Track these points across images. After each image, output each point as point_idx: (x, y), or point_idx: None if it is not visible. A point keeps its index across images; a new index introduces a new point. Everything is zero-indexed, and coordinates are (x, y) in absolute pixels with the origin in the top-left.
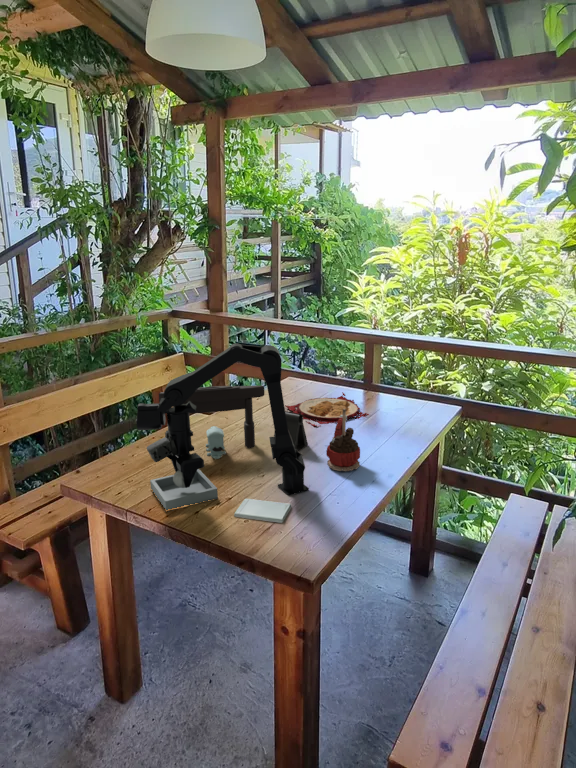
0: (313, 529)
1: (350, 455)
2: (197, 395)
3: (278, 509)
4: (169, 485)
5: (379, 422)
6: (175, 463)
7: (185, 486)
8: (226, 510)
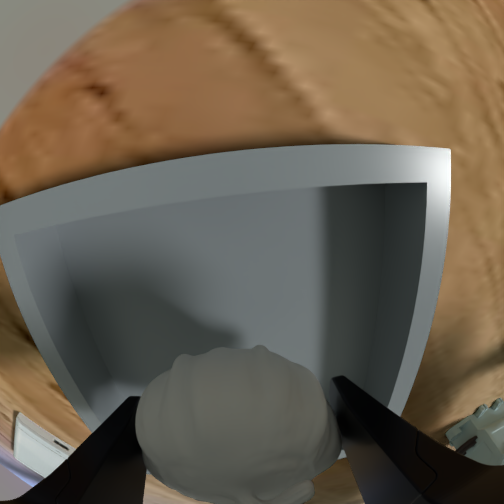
0: (9, 460)
1: None
2: None
3: (47, 474)
4: (382, 275)
5: None
6: (398, 485)
7: (122, 403)
8: (48, 415)
